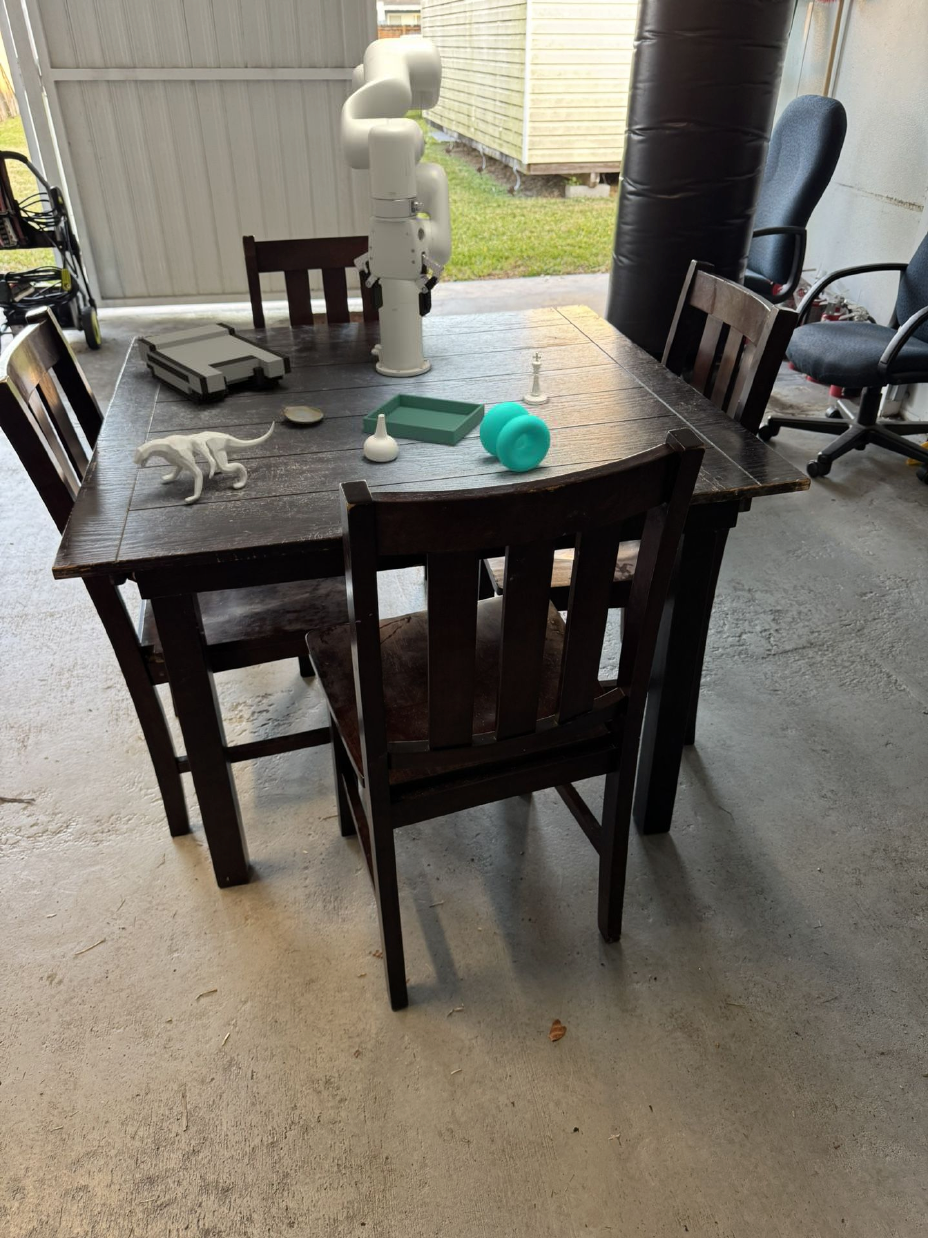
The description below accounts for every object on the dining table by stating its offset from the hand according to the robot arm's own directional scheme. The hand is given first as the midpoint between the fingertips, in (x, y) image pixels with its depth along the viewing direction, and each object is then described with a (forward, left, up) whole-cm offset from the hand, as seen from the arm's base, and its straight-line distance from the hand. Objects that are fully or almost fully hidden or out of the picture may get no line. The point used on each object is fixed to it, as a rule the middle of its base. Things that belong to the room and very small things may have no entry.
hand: (401, 311), depth 153 cm
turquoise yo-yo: (+27, -2, -22) cm, 35 cm away
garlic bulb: (+6, -14, -22) cm, 27 cm away
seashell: (-19, -10, -22) cm, 31 cm away
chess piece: (+12, +27, -22) cm, 37 cm away
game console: (-53, -5, -22) cm, 58 cm away
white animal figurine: (-10, -39, -22) cm, 46 cm away
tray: (+2, +3, -22) cm, 22 cm away
